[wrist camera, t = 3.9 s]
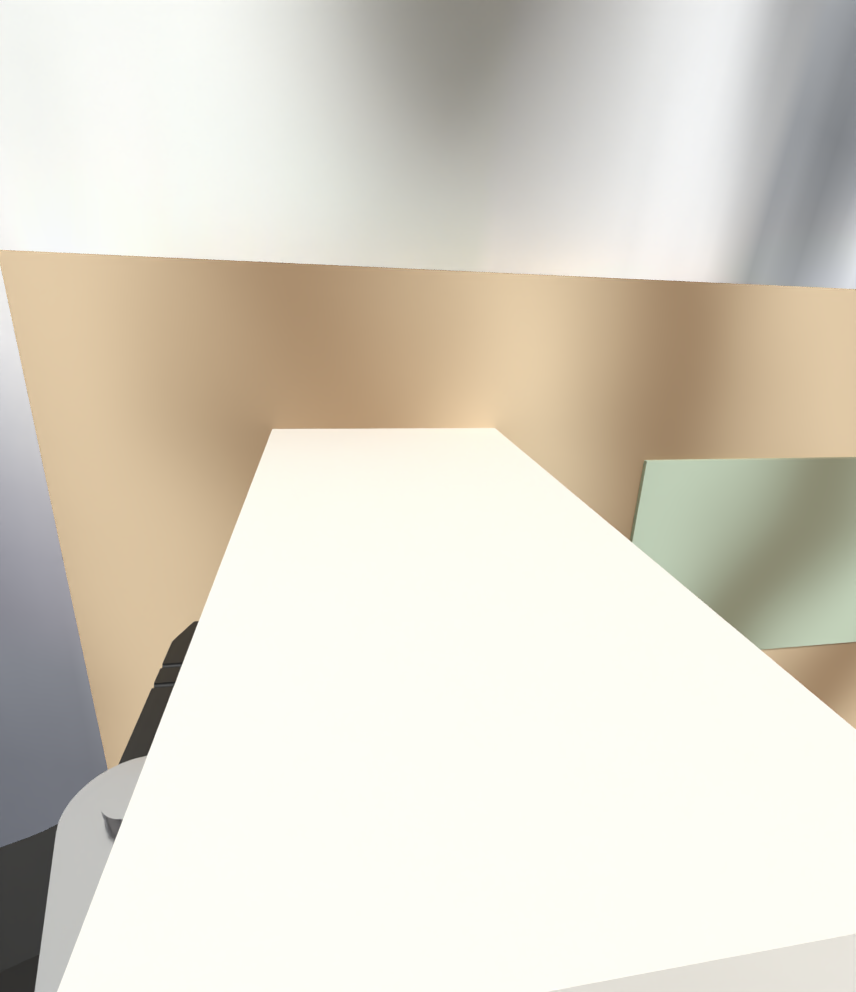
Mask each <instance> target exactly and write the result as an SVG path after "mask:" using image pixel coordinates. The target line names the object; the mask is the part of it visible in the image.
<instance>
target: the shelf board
mask: <svg viewBox="0 0 856 992" xmlns="http://www.w3.org/2000/svg"><path fill="white" fill-rule="evenodd" d="M0 266H1V270H2V275H3V280H4V284H5V289H6V294H7V298H8V303H9V308H10V312H11V317H12V322H13V327H14V331H15V336H16V341H17V345H18V350H19V355H20V359H21V364H22V369H23V373H24V378H25V383H26V387H27V392H28V397H29V402H30V406H31V411H32V416H33V420H34V425H35V430H36V434H37V439H38V444H39V448H40V453H41V458H42V462H43V467H44V472H45V477H46V481H47V486H48V491H49V495H50V500H51V505H52V509H53V514H54V519H55V523H56V528H57V533H58V537H59V542H60V547H61V552H62V556H63V561H64V566H65V570H66V575H67V580H68V584H69V589H70V594H71V598H72V603H73V608H74V612H75V617H76V622H77V627H78V631H79V636H80V641H81V645H82V650H83V655H84V659H85V664H86V669H87V673H88V678H89V683H90V687H91V692H92V697H93V702H94V706H95V711H96V716H97V720H98V725H99V730H100V734H101V739H102V744H103V748H104V753H105V758H106V762H107V767H108V770H109V769H111V768H113V767H115V766H117V765H118V764H119V762H120V760H121V757H122V755H123V753H124V750H125V748H126V746H127V744H128V741H129V739H130V737H131V734H132V732H133V730H134V728H135V725H136V723H137V721H138V718H139V716H140V714H141V711H142V709H143V707H144V705H145V702H146V700H147V698H148V695H149V693H150V691H151V689H152V688H154V682H155V679H156V677H157V675H158V673H159V670H160V668H162V663H163V661H164V659H165V656H166V654H167V652H168V650H169V647H170V645H171V643H172V641H173V640H174V639H175V638H176V637H177V636H178V635H180V634H181V633H182V632H183V631H184V630H185V629H186V628H187V627H188V626H189V625H191V624H192V623H193V622H194V621H199V619H200V617H201V614H202V612H203V609H204V606H205V604H206V601H207V598H208V596H209V593H210V591H211V588H212V585H213V583H214V580H215V578H216V575H217V572H218V570H219V567H220V564H221V562H222V559H223V557H224V554H225V551H226V549H227V546H228V544H229V541H230V538H231V536H232V533H233V530H234V528H235V525H236V523H237V520H238V517H239V515H240V512H241V510H242V507H243V504H244V502H245V499H246V496H247V494H248V491H249V489H250V486H251V483H252V481H253V478H254V476H255V473H256V470H257V468H258V465H259V462H260V460H261V457H262V455H263V452H264V449H265V447H266V444H267V441H268V439H269V436H270V434H271V431H272V429H377V428H495V429H497V430H498V431H499V432H500V433H501V434H503V435H504V436H505V437H506V438H507V439H509V440H510V441H511V442H512V443H513V444H515V445H516V446H517V447H518V448H519V449H521V450H522V451H523V452H524V453H525V454H527V455H528V456H529V457H530V458H531V459H533V460H534V461H535V462H536V463H537V464H539V465H540V466H541V467H542V468H543V469H545V470H546V471H547V472H548V473H549V474H551V475H552V476H553V477H554V478H555V479H557V480H558V481H559V482H560V483H561V484H562V485H564V486H565V487H566V488H567V489H568V490H570V491H571V492H572V493H573V494H574V495H576V496H577V497H578V498H579V499H580V500H582V501H583V502H584V503H585V504H586V505H588V506H589V507H590V508H591V509H592V510H594V511H595V512H596V513H597V514H598V515H600V516H601V517H602V518H603V519H604V520H606V521H607V522H608V523H609V524H610V525H612V526H613V527H614V528H615V529H616V530H618V531H619V532H620V533H621V534H622V535H624V536H625V537H626V538H627V539H628V540H630V541H631V542H632V543H633V544H634V545H636V546H637V547H638V548H639V549H640V550H642V551H643V552H644V553H645V554H646V555H648V556H649V557H650V558H651V559H652V560H653V561H655V562H656V563H657V564H658V565H659V566H661V567H662V568H663V569H664V570H665V571H667V572H668V573H669V574H670V575H671V576H673V577H674V578H675V579H676V580H677V581H679V582H680V583H681V584H682V585H683V586H685V587H686V588H687V589H688V590H689V591H691V592H692V593H693V594H694V595H695V596H697V597H698V598H699V599H700V600H701V601H703V602H704V603H705V604H706V605H707V606H709V607H710V608H711V609H712V610H713V611H715V612H716V613H717V614H718V615H719V616H721V617H722V618H723V619H724V620H725V621H727V622H728V623H729V624H730V625H731V626H733V627H734V628H735V629H736V630H737V631H739V632H740V633H741V634H742V635H743V636H744V637H746V638H747V639H748V640H749V641H750V642H752V643H753V644H754V645H755V646H756V647H758V648H759V649H760V650H761V651H762V652H764V653H765V654H766V655H767V656H768V657H770V658H771V659H772V660H773V661H774V662H776V663H777V664H778V665H779V666H780V667H782V668H783V669H784V670H785V671H786V672H788V673H789V674H790V675H791V676H792V677H794V678H795V679H796V680H797V681H798V682H800V683H801V684H802V685H803V686H804V687H806V688H807V689H808V690H809V691H810V692H812V693H813V694H814V695H815V696H816V697H818V698H819V699H820V700H821V701H822V702H824V703H825V704H826V705H827V706H828V707H830V708H831V709H832V710H833V711H834V712H835V713H837V714H838V715H839V716H840V717H841V718H843V719H844V720H845V721H846V722H847V723H849V724H850V725H851V726H852V727H853V728H855V729H856V289H838V288H817V287H795V286H773V285H751V284H730V283H708V282H686V281H664V280H643V279H621V278H599V277H577V276H556V275H534V274H512V273H490V272H469V271H447V270H425V269H403V268H382V267H360V266H338V265H317V264H295V263H273V262H251V261H230V260H208V259H186V258H164V257H143V256H121V255H99V254H77V253H56V252H34V251H12V250H0Z"/></svg>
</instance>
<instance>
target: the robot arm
mask: <svg viewBox="0 0 856 992" xmlns="http://www.w3.org/2000/svg"><path fill="white" fill-rule="evenodd" d="M198 622H199V621H194V622H193V623H192V624H191V625H189V626H188V627H187V628H186V629H185V630H184V631H183V632H182V633H181V634H180V635H178V636H177V637H176V638H175V639H174V640H173V641H172V643H171V645H170V647H169V650H168V652H167V654H166V656H165V659H164V661H163V663H162V668H160V670H159V673H158V675H157V677H156V679H155V682H154V688H152V689H151V691H150V693H149V695H148V698H147V700H146V702H145V705H144V707H143V709H142V711H141V714H140V716H139V718H138V721H137V723H136V725H135V728H134V730H133V732H132V734H131V737H130V739H129V741H128V744H127V746H126V748H125V750H124V753H123V755H122V757H121V760H120V762H119V764H118V765H117V766H115V767H113V768H111V769H109V770H107V771H105V772H104V773H102V774H100V775H99V776H97V777H96V778H95V779H93V780H92V781H91V782H89V783H88V784H87V785H86V786H85V787H84V788H82V789H81V790H80V791H79V792H78V793H77V794H76V796H75V797H74V798H73V799H72V800H71V801H70V803H69V804H68V806H67V807H66V809H65V810H64V812H63V814H62V816H61V818H60V820H59V823H58V824H57V825H55V826H53V827H51V828H49V829H47V830H45V831H43V832H41V833H38V834H36V835H33V836H31V837H28V838H26V839H23V840H20V841H17V842H14V843H12V844H9V845H6V846H3V847H1V848H0V992H57V991H58V988H59V986H60V983H61V980H62V978H63V975H64V973H65V970H66V967H67V965H68V962H69V959H70V957H71V954H72V952H73V949H74V946H75V944H76V941H77V939H78V936H79V933H80V931H81V928H82V925H83V923H84V920H85V918H86V915H87V912H88V910H89V907H90V905H91V902H92V899H93V897H94V894H95V891H96V889H97V886H98V884H99V881H100V878H101V876H102V873H103V871H104V868H105V865H106V863H107V860H108V857H109V855H110V852H111V850H112V847H113V844H114V842H115V839H116V837H117V834H118V831H119V829H120V826H121V823H122V821H123V818H124V816H125V813H126V810H127V808H128V805H129V803H130V800H131V797H132V795H133V792H134V789H135V787H136V784H137V782H138V779H139V776H140V774H141V771H142V769H143V766H144V763H145V761H146V758H147V755H148V753H149V750H150V748H151V745H152V742H153V740H154V737H155V734H156V732H157V729H158V727H159V724H160V721H161V719H162V716H163V714H164V711H165V708H166V706H167V703H168V700H169V698H170V695H171V693H172V690H173V687H174V685H175V682H176V680H177V677H178V674H179V672H180V669H181V666H182V664H183V661H184V659H185V656H186V653H187V651H188V648H189V646H190V643H191V640H192V638H193V635H194V632H195V630H196V627H197V625H198Z"/></svg>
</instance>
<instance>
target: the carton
mask: <svg viewBox="0 0 856 992" xmlns="http://www.w3.org/2000/svg"><path fill="white" fill-rule="evenodd" d="M57 992H856V729H855V728H853V727H852V726H851V725H850V724H849V723H847V722H846V721H845V720H844V719H843V718H841V717H840V716H839V715H838V714H837V713H835V712H834V711H833V710H832V709H831V708H830V707H828V706H827V705H826V704H825V703H824V702H822V701H821V700H820V699H819V698H818V697H816V696H815V695H814V694H813V693H812V692H810V691H809V690H808V689H807V688H806V687H804V686H803V685H802V684H801V683H800V682H798V681H797V680H796V679H795V678H794V677H792V676H791V675H790V674H789V673H788V672H786V671H785V670H784V669H783V668H782V667H780V666H779V665H778V664H777V663H776V662H774V661H773V660H772V659H771V658H770V657H768V656H767V655H766V654H765V653H764V652H762V651H761V650H760V649H759V648H758V647H756V646H755V645H754V644H753V643H752V642H750V641H749V640H748V639H747V638H746V637H744V636H743V635H742V634H741V633H740V632H739V631H737V630H736V629H735V628H734V627H733V626H731V625H730V624H729V623H728V622H727V621H725V620H724V619H723V618H722V617H721V616H719V615H718V614H717V613H716V612H715V611H713V610H712V609H711V608H710V607H709V606H707V605H706V604H705V603H704V602H703V601H701V600H700V599H699V598H698V597H697V596H695V595H694V594H693V593H692V592H691V591H689V590H688V589H687V588H686V587H685V586H683V585H682V584H681V583H680V582H679V581H677V580H676V579H675V578H674V577H673V576H671V575H670V574H669V573H668V572H667V571H665V570H664V569H663V568H662V567H661V566H659V565H658V564H657V563H656V562H655V561H653V560H652V559H651V558H650V557H649V556H648V555H646V554H645V553H644V552H643V551H642V550H640V549H639V548H638V547H637V546H636V545H634V544H633V543H632V542H631V541H630V540H628V539H627V538H626V537H625V536H624V535H622V534H621V533H620V532H619V531H618V530H616V529H615V528H614V527H613V526H612V525H610V524H609V523H608V522H607V521H606V520H604V519H603V518H602V517H601V516H600V515H598V514H597V513H596V512H595V511H594V510H592V509H591V508H590V507H589V506H588V505H586V504H585V503H584V502H583V501H582V500H580V499H579V498H578V497H577V496H576V495H574V494H573V493H572V492H571V491H570V490H568V489H567V488H566V487H565V486H564V485H562V484H561V483H560V482H559V481H558V480H557V479H555V478H554V477H553V476H552V475H551V474H549V473H548V472H547V471H546V470H545V469H543V468H542V467H541V466H540V465H539V464H537V463H536V462H535V461H534V460H533V459H531V458H530V457H529V456H528V455H527V454H525V453H524V452H523V451H522V450H521V449H519V448H518V447H517V446H516V445H515V444H513V443H512V442H511V441H510V440H509V439H507V438H506V437H505V436H504V435H503V434H501V433H500V432H499V431H498V430H497V429H495V428H377V429H272V431H271V434H270V436H269V439H268V441H267V444H266V447H265V449H264V452H263V455H262V457H261V460H260V462H259V465H258V468H257V470H256V473H255V476H254V478H253V481H252V483H251V486H250V489H249V491H248V494H247V496H246V499H245V502H244V504H243V507H242V510H241V512H240V515H239V517H238V520H237V523H236V525H235V528H234V530H233V533H232V536H231V538H230V541H229V544H228V546H227V549H226V551H225V554H224V557H223V559H222V562H221V564H220V567H219V570H218V572H217V575H216V578H215V580H214V583H213V585H212V588H211V591H210V593H209V596H208V598H207V601H206V604H205V606H204V609H203V612H202V614H201V617H200V619H199V622H198V625H197V627H196V630H195V632H194V635H193V638H192V640H191V643H190V646H189V648H188V651H187V653H186V656H185V659H184V661H183V664H182V666H181V669H180V672H179V674H178V677H177V680H176V682H175V685H174V687H173V690H172V693H171V695H170V698H169V700H168V703H167V706H166V708H165V711H164V714H163V716H162V719H161V721H160V724H159V727H158V729H157V732H156V734H155V737H154V740H153V742H152V745H151V748H150V750H149V753H148V755H147V758H146V761H145V763H144V766H143V769H142V771H141V774H140V776H139V779H138V782H137V784H136V787H135V789H134V792H133V795H132V797H131V800H130V803H129V805H128V808H127V810H126V813H125V816H124V818H123V821H122V823H121V826H120V829H119V831H118V834H117V837H116V839H115V842H114V844H113V847H112V850H111V852H110V855H109V857H108V860H107V863H106V865H105V868H104V871H103V873H102V876H101V878H100V881H99V884H98V886H97V889H96V891H95V894H94V897H93V899H92V902H91V905H90V907H89V910H88V912H87V915H86V918H85V920H84V923H83V925H82V928H81V931H80V933H79V936H78V939H77V941H76V944H75V946H74V949H73V952H72V954H71V957H70V959H69V962H68V965H67V967H66V970H65V973H64V975H63V978H62V980H61V983H60V986H59V988H58V991H57Z"/></svg>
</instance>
